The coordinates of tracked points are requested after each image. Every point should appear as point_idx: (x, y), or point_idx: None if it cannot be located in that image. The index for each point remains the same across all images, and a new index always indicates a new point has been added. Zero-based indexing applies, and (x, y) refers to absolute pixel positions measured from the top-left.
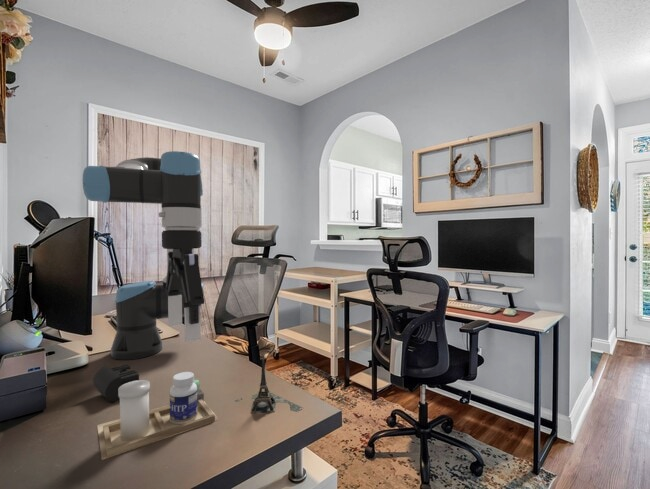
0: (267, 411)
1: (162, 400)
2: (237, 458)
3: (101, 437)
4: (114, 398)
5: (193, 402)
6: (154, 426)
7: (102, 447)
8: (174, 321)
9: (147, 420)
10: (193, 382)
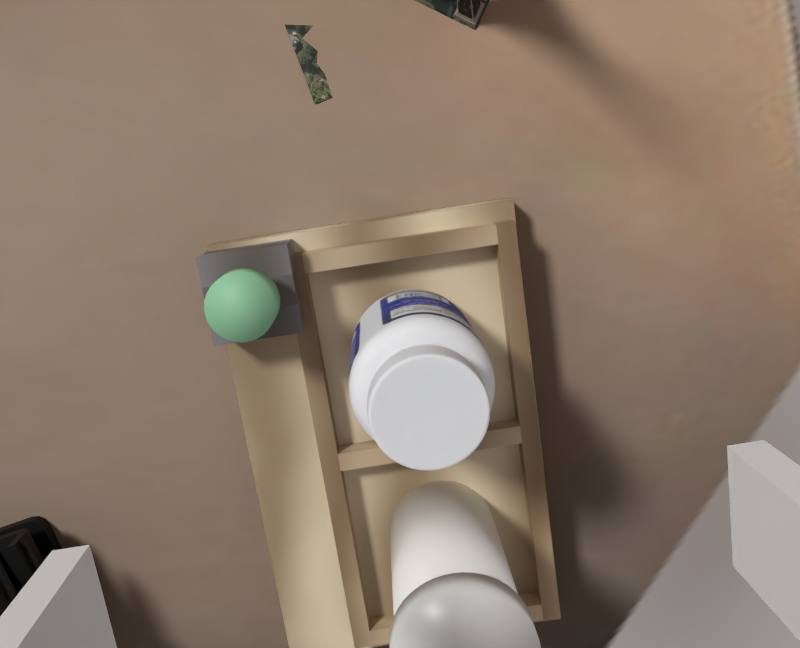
0: None
1: (121, 413)
2: (779, 180)
3: None
4: None
5: (472, 328)
6: None
7: None
8: (97, 640)
9: (476, 513)
10: (249, 306)
